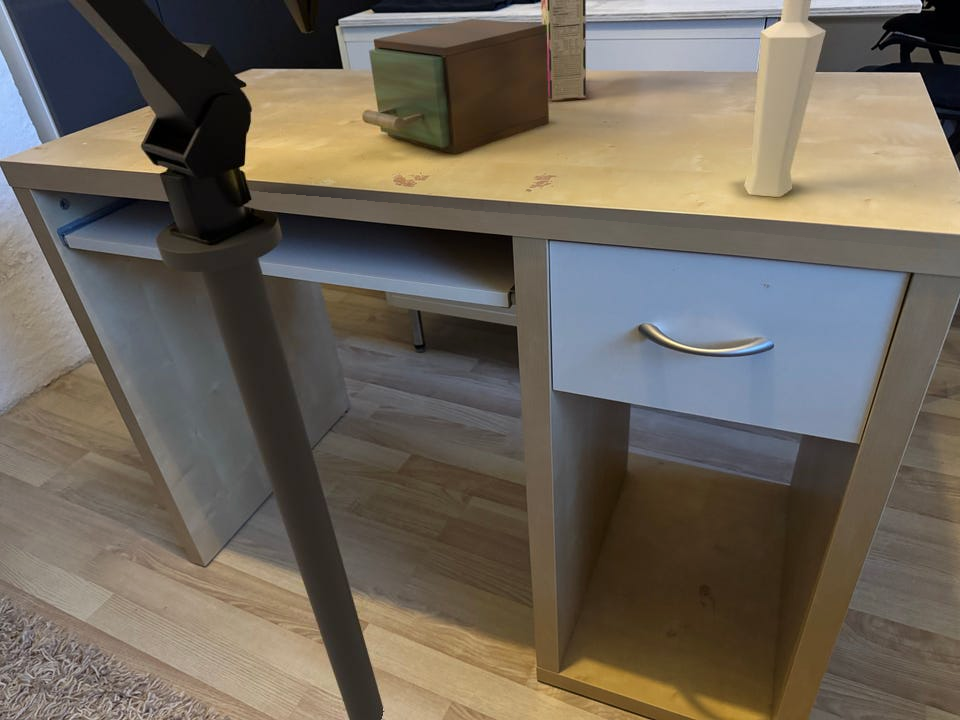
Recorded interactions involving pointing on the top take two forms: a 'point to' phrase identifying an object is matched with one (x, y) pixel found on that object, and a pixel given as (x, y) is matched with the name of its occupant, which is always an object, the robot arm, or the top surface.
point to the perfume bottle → (782, 96)
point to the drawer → (410, 96)
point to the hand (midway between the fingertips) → (308, 32)
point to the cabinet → (485, 77)
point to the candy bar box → (565, 48)
